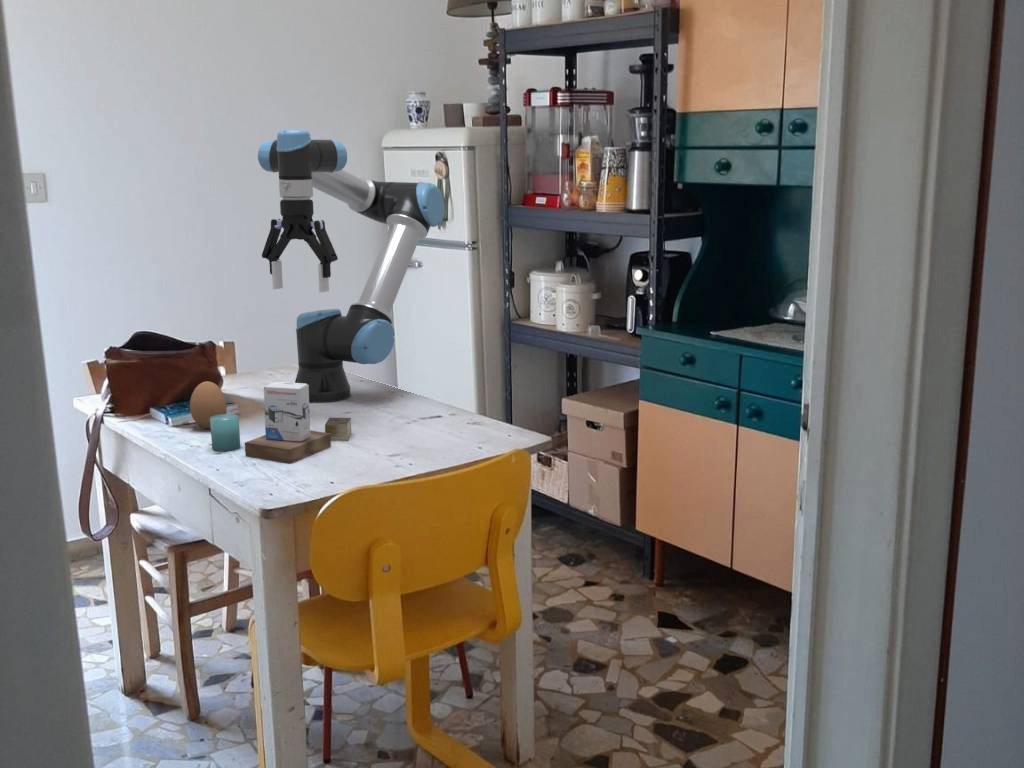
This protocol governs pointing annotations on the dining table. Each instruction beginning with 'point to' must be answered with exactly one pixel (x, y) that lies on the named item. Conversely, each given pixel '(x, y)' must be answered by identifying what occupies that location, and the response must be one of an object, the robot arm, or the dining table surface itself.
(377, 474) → the dining table surface
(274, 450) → the stand
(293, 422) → the ink box
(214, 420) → the teal pillar candle
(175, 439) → the dining table surface
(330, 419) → the brass tin
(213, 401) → the egg
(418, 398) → the dining table surface
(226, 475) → the dining table surface
